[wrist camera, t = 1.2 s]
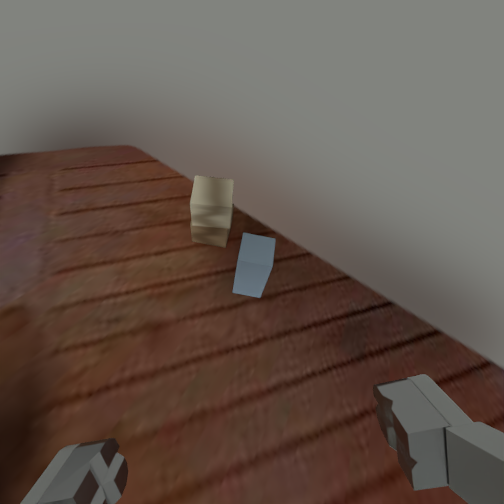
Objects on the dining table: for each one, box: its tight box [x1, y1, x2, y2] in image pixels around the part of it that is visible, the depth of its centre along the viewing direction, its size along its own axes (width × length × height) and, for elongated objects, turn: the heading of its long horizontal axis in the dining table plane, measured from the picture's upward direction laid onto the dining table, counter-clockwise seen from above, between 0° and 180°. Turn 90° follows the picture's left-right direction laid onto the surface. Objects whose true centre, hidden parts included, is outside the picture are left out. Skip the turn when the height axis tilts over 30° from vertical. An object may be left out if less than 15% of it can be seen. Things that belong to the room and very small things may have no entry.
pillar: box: [232, 233, 276, 298], centre depth 37 cm, size 4×4×10 cm
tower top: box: [190, 176, 234, 229], centre depth 40 cm, size 6×6×5 cm
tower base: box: [190, 204, 234, 248], centre depth 44 cm, size 6×6×5 cm
